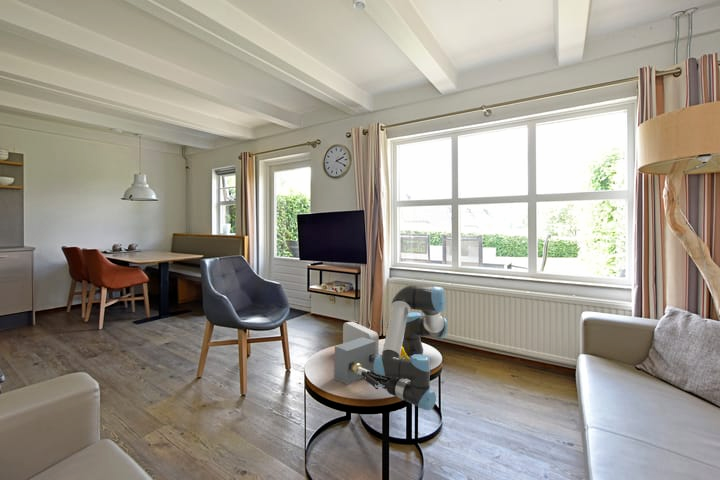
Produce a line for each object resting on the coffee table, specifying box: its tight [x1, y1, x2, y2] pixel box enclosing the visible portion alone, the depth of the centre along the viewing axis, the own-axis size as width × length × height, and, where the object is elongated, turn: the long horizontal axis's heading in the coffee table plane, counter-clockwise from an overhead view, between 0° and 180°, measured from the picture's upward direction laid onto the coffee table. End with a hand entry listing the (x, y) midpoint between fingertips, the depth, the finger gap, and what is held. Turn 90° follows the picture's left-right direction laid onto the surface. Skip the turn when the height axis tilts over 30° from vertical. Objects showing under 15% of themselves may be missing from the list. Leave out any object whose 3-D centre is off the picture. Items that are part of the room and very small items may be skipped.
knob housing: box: [333, 337, 376, 386], centre depth 162 cm, size 20×9×16 cm, turn 136°
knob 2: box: [369, 355, 376, 363], centre depth 162 cm, size 4×9×4 cm, turn 46°
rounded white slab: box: [342, 321, 380, 356], centre depth 184 cm, size 29×8×18 cm, turn 33°
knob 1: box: [349, 362, 362, 374], centre depth 154 cm, size 4×9×4 cm, turn 46°
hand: (358, 370), depth 150 cm, fingers closed
